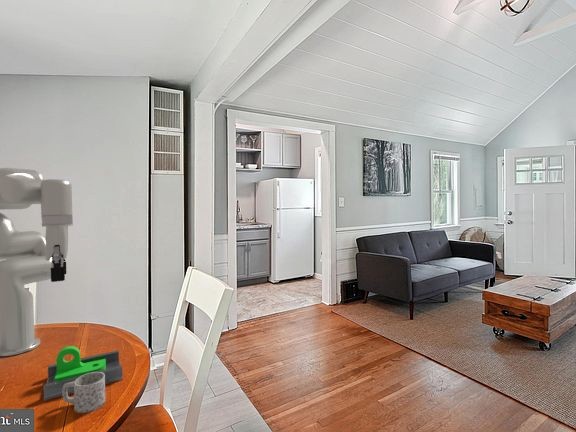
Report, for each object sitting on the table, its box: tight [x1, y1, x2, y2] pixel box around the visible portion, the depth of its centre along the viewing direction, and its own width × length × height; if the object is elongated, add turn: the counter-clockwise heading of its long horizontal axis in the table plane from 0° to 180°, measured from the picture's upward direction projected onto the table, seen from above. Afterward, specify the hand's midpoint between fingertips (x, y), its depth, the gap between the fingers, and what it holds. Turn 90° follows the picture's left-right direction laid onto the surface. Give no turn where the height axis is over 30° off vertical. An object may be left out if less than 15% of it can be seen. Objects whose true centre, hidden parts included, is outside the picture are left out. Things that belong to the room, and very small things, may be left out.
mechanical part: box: [55, 345, 106, 382], centre depth 92 cm, size 12×6×8 cm, turn 120°
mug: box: [61, 372, 106, 414], centre depth 80 cm, size 10×7×7 cm, turn 92°
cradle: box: [43, 349, 124, 401], centre depth 92 cm, size 13×18×4 cm
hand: (59, 277), depth 96 cm, fingers open, 9 cm apart
